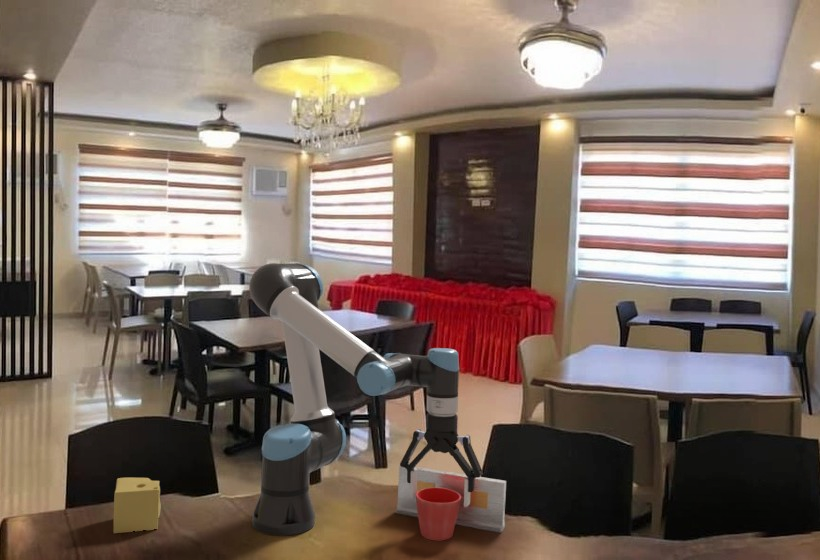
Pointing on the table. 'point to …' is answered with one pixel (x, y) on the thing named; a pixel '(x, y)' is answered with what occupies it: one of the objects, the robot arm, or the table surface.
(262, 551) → the table surface
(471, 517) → the label panel
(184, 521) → the table surface
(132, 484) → the cheese
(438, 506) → the flower pot
